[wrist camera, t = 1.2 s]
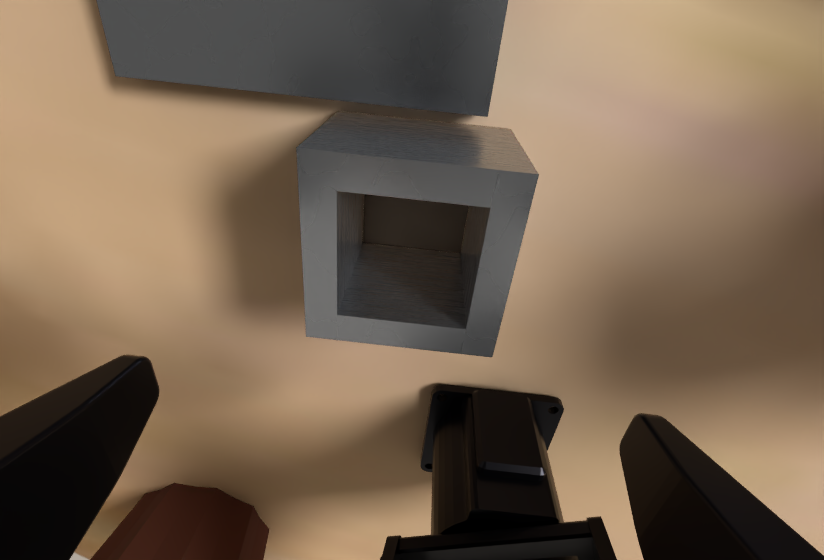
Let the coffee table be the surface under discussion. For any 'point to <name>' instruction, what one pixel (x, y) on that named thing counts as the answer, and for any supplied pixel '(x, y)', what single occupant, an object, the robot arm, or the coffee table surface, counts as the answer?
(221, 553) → the muffin
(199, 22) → the flange plate
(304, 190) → the collar
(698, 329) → the coffee table surface
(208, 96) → the coffee table surface
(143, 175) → the coffee table surface
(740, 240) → the coffee table surface
